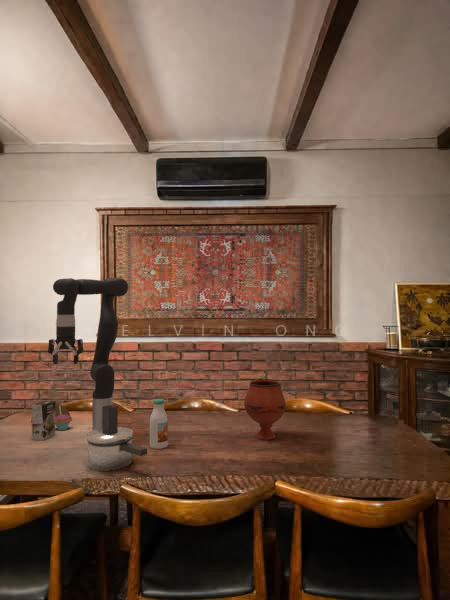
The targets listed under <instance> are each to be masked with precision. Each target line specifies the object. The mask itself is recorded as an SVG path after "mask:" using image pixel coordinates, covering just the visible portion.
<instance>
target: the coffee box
mask: <svg viewBox="0 0 450 600" xmlns="http://www.w3.org/2000/svg"><path fill="white" fill-rule="evenodd" d="M55 403H56V401H55V400H42V401H39V402H36V403H32V408H31V409H32V411H31V412H32V413H31V419H32V420H31V440H32V441H35V440H36V441H45V440H48V439H49V438H52V437H54V436H56V425H55Z"/></svg>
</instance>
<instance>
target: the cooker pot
mask: <svg viewBox="0 0 450 600" xmlns="http://www.w3.org/2000/svg"><path fill="white" fill-rule="evenodd" d="M132 439H133V436H132V437H131V438H130V439H128V440H125V441H122V442H117V443H109V444H98V443H92V442H89V441H87V444H88V446H87V448H88V451H87V453H88V454H87V455H88V456H87V457H88V460H87V461H88V462H87V465H88V466H87V467H88V468H89V467H90V468H91V469H90V468H89V469H90V470H93V469H94V470H93V471H97V470H100V471H99V472H109V471H110V470H112V471H117V470H116V469H118V470H121V469H124V468H126V466H127V467H129V464H130V465H131V464H132V463H133V461H132V459H133V457H132V456H133V455H135V456H139V457H142V456H145V455H148V447H145V446H142V445H141V446H140V445H138V444H133V441H132ZM132 454H133V455H132ZM120 468H121V469H120Z"/></svg>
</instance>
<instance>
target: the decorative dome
mask: <svg viewBox="0 0 450 600" xmlns="http://www.w3.org/2000/svg"><path fill="white" fill-rule="evenodd" d="M59 405H60V407H61V415H63V414H65V415H69V416H71V414H70V413H71V412H70V411H69V410H68V408H67V407H65V406H64V405H63V404H60V403H57V402H55V417H56V416H58V415H60V410H59ZM31 421H32V418H31Z"/></svg>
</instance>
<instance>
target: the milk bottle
mask: <svg viewBox="0 0 450 600" xmlns="http://www.w3.org/2000/svg"><path fill="white" fill-rule="evenodd" d="M152 404H153V405H152V406H153V409H152V411H151V412H152V413H151V415H150V419H149V447H150V449H154V450H161V449H165V448H167V447H168V445H169V421H168V415H167V412H166V411H165V407H164V405H165V399H163V398H155V399H153V401H152Z"/></svg>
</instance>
